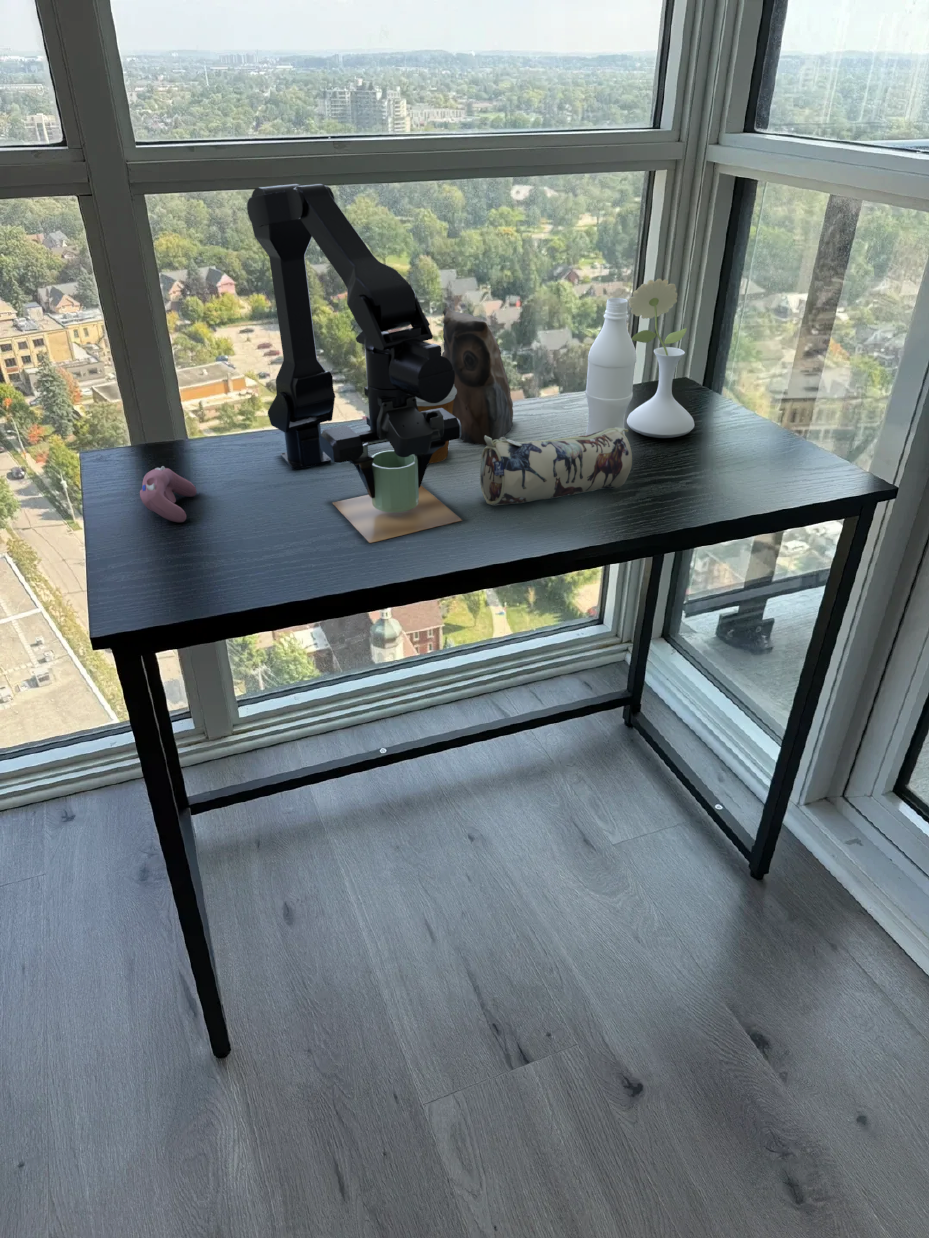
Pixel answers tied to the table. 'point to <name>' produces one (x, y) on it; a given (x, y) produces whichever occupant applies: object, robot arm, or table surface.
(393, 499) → the glazed cup
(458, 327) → the owl
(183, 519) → the video game controller
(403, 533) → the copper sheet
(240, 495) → the table surface
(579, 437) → the pencil case
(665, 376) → the flower in vase
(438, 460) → the disposable coffee cup
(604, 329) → the water bottle
